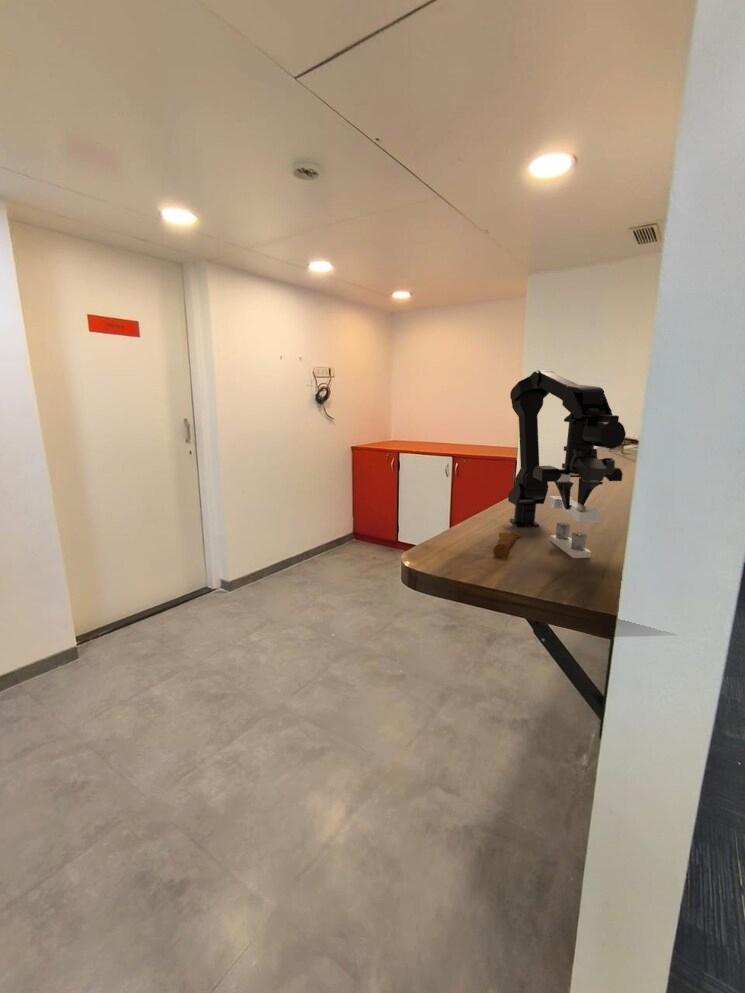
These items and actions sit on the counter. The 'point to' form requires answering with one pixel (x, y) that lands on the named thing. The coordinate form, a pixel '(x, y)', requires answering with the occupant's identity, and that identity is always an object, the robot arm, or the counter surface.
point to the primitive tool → (505, 544)
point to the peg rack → (570, 541)
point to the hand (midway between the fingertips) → (573, 509)
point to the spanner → (576, 510)
